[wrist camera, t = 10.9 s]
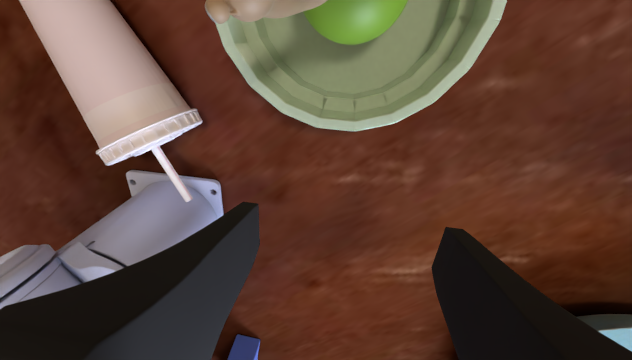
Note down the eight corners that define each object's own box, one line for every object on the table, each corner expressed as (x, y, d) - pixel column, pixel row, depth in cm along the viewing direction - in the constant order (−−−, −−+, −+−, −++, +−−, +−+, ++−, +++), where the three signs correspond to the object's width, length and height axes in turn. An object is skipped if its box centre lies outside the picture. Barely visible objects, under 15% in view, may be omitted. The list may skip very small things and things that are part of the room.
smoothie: (-40, 11, 14) (129, 232, 18) (-5, -73, 11) (189, 217, 15) (88, 15, 19) (197, 186, 24) (137, -42, 16) (252, 167, 21)
